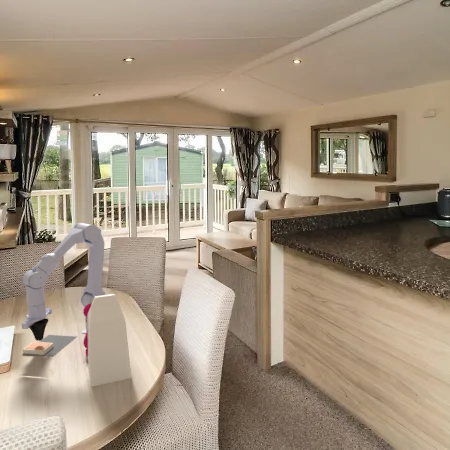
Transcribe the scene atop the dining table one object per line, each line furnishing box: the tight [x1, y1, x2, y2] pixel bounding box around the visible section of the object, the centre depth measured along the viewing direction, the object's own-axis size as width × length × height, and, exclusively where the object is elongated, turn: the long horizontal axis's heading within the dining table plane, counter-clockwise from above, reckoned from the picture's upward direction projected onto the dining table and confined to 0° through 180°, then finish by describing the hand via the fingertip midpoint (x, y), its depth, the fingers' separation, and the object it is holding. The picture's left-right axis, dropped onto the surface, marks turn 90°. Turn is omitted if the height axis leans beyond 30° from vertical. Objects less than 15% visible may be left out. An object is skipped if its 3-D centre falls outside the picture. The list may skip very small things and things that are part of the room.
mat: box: [22, 334, 77, 357], centre depth 143 cm, size 12×16×1 cm
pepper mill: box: [82, 299, 93, 357], centre depth 136 cm, size 7×7×20 cm
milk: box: [87, 293, 132, 388], centre depth 122 cm, size 12×12×26 cm
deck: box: [22, 341, 54, 355], centre depth 139 cm, size 8×2×6 cm
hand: (39, 339), depth 139 cm, fingers closed
